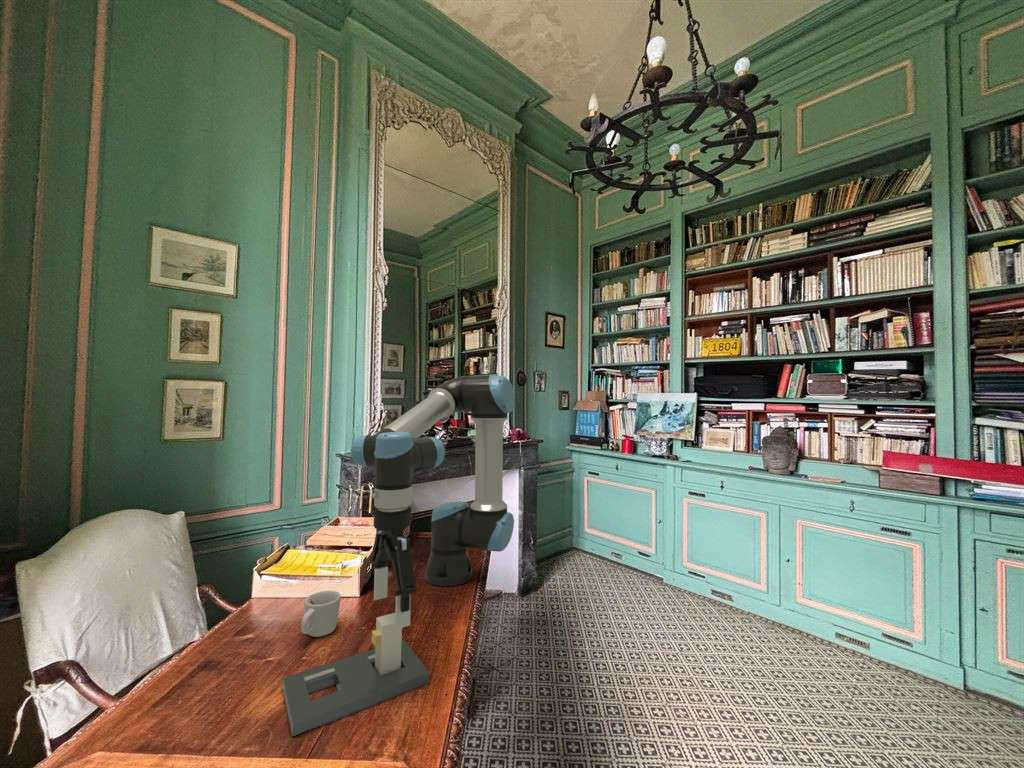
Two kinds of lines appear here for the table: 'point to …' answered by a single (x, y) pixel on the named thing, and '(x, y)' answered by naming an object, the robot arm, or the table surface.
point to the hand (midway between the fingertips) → (390, 611)
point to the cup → (321, 613)
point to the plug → (387, 645)
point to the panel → (348, 688)
